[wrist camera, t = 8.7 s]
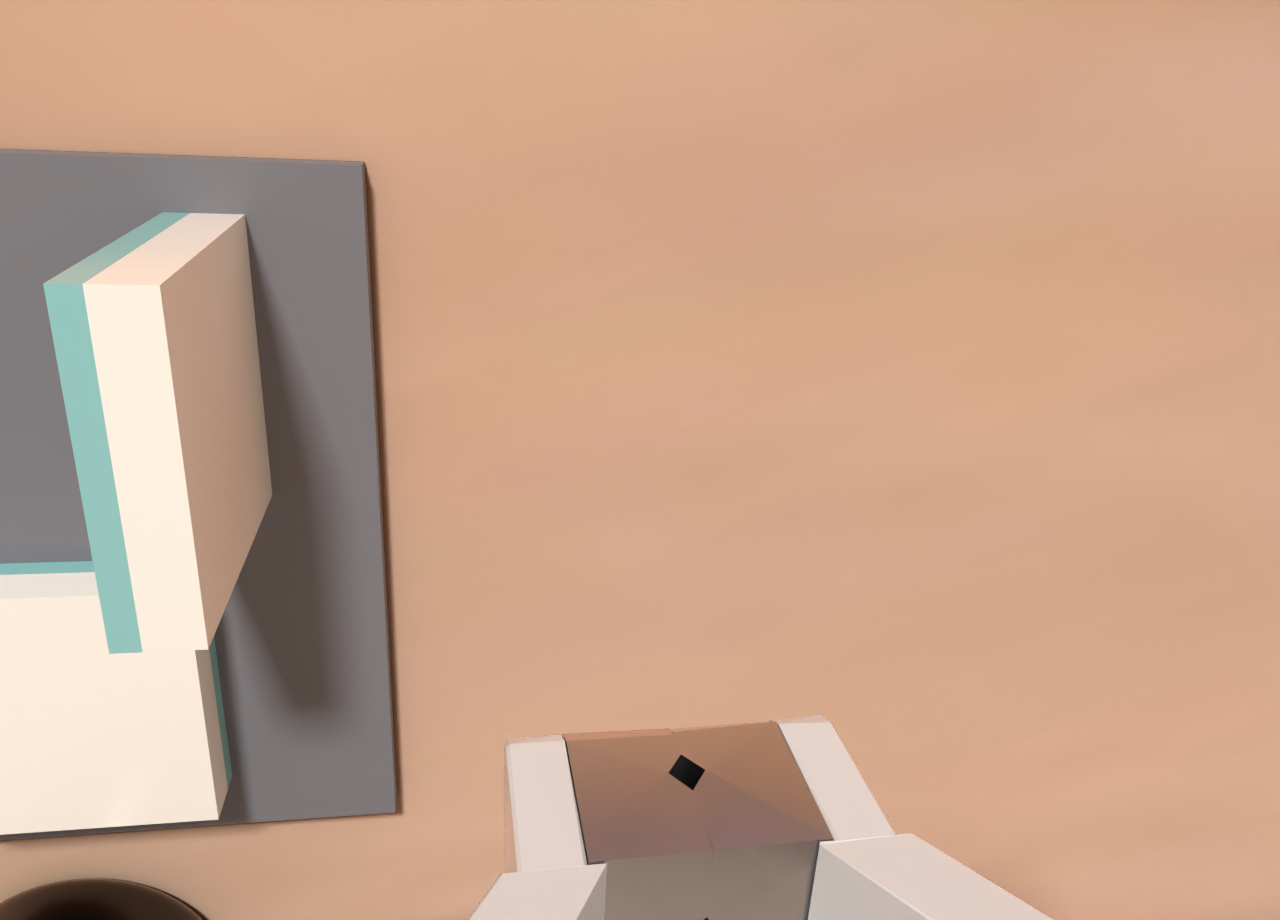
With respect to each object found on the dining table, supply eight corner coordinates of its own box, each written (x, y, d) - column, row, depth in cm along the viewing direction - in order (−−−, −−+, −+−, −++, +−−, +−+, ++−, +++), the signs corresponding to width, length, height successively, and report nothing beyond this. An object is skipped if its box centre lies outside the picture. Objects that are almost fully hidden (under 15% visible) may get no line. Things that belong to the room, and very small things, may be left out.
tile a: (186, 592, 21) (-137, 603, 20) (218, 819, 23) (-70, 839, 22) (203, 557, 22) (-99, 565, 21) (232, 775, 24) (-39, 792, 23)
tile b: (245, 214, 19) (159, 285, 14) (272, 494, 22) (208, 649, 16) (162, 212, 19) (43, 283, 14) (199, 495, 21) (109, 653, 16)
